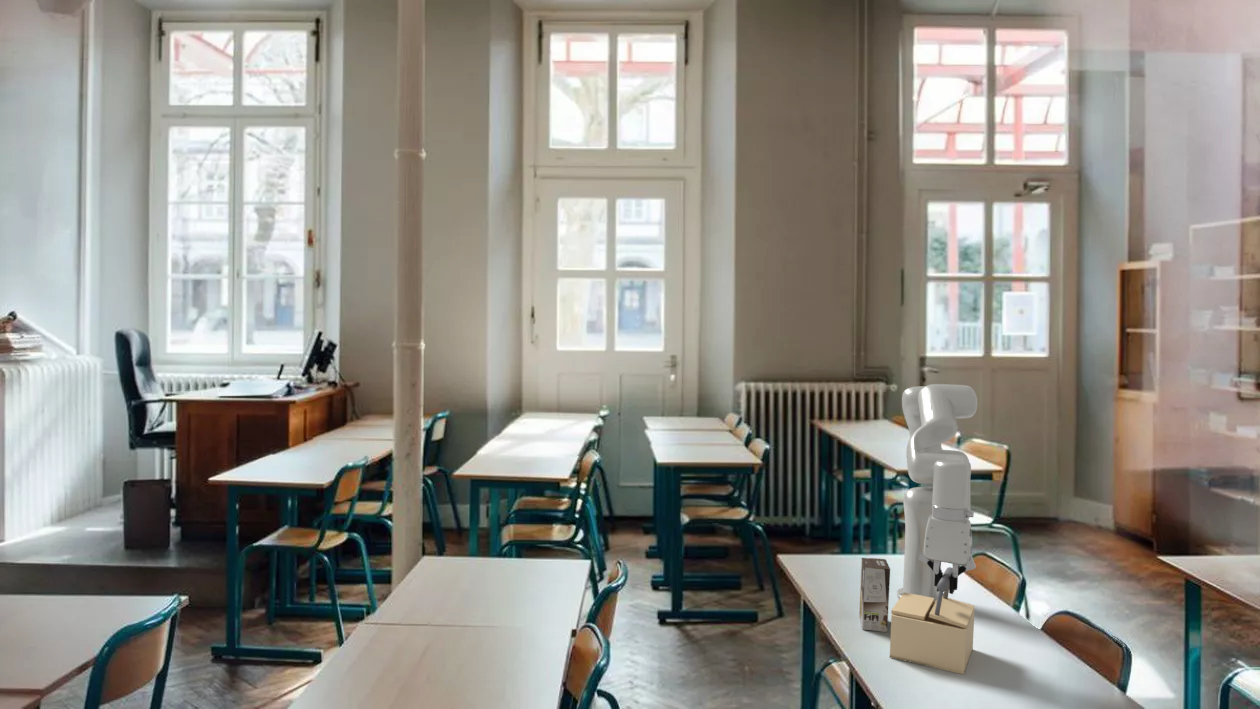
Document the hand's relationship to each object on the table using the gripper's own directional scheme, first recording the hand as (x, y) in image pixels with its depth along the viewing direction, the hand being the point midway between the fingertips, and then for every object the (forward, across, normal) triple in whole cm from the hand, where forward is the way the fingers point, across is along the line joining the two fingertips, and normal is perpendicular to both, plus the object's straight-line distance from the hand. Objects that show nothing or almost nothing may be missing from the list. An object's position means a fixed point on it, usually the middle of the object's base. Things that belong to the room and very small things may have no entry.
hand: (945, 590), depth 185 cm
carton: (+16, +2, 0) cm, 16 cm away
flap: (+5, -2, 0) cm, 5 cm away
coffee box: (+16, +18, -10) cm, 26 cm away
